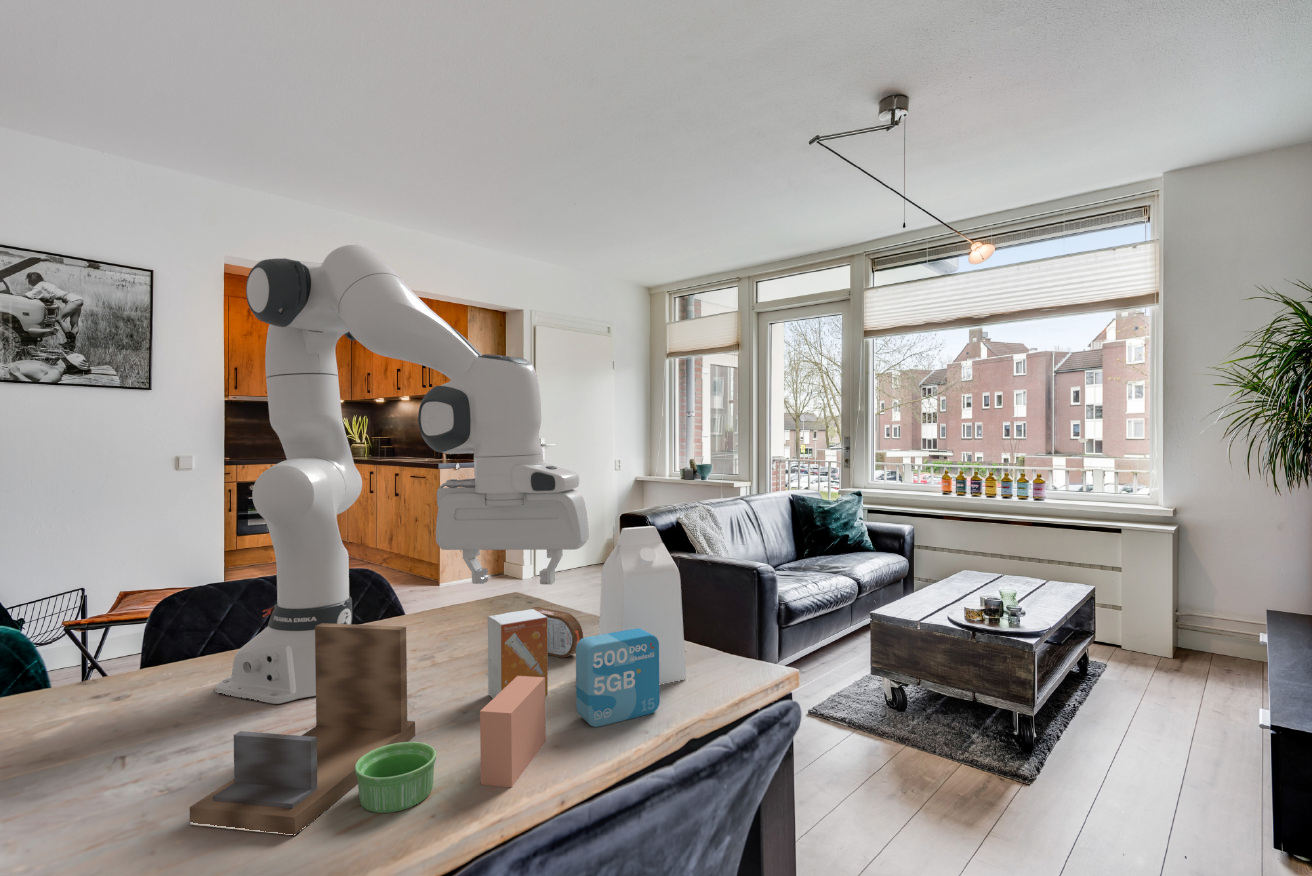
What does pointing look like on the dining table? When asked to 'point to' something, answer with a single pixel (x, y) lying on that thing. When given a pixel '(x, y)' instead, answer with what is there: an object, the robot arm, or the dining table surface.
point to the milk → (645, 596)
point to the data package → (617, 676)
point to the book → (512, 730)
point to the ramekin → (395, 776)
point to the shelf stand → (319, 735)
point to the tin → (561, 632)
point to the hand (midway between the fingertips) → (513, 583)
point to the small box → (516, 648)
